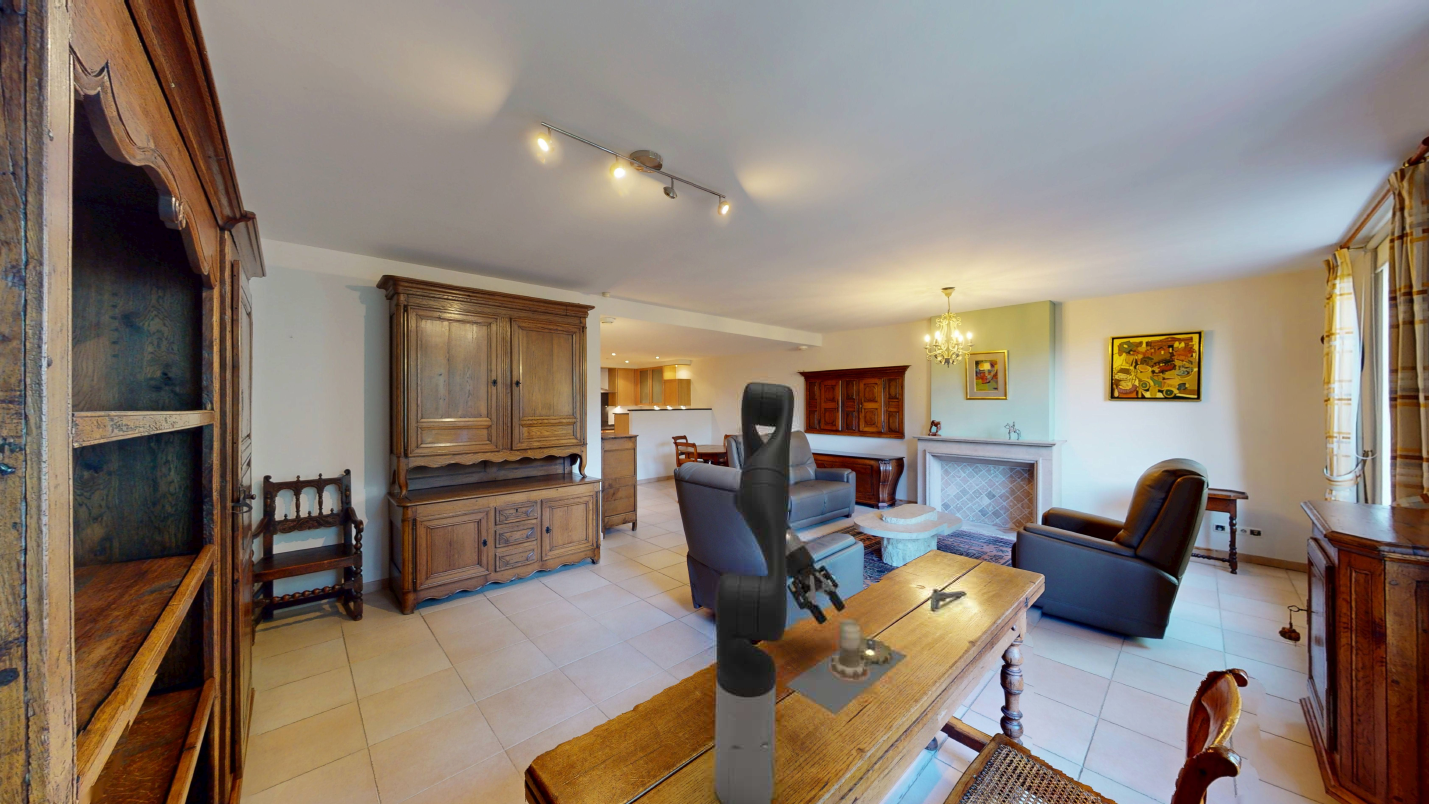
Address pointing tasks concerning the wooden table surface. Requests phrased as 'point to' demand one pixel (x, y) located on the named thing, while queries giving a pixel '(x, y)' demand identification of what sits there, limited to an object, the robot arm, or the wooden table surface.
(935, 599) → the caliper
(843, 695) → the gear board
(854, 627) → the beech gear spindle
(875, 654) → the brass gear
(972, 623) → the wooden table surface
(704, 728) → the wooden table surface
